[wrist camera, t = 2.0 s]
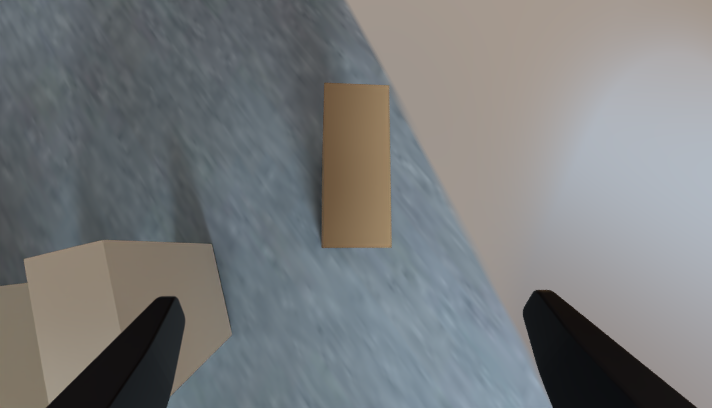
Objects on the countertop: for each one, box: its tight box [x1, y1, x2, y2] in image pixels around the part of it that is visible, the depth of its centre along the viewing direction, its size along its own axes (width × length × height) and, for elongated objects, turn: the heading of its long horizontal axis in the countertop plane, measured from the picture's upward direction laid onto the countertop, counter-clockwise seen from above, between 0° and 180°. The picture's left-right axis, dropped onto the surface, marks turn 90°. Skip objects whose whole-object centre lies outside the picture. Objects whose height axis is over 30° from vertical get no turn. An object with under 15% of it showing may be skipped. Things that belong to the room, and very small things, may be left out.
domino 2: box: [24, 240, 232, 404], centre depth 14 cm, size 2×5×10 cm, turn 15°
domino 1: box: [0, 283, 49, 408], centre depth 14 cm, size 2×5×10 cm, turn 24°
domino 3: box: [322, 83, 392, 248], centre depth 16 cm, size 2×5×10 cm, turn 0°
